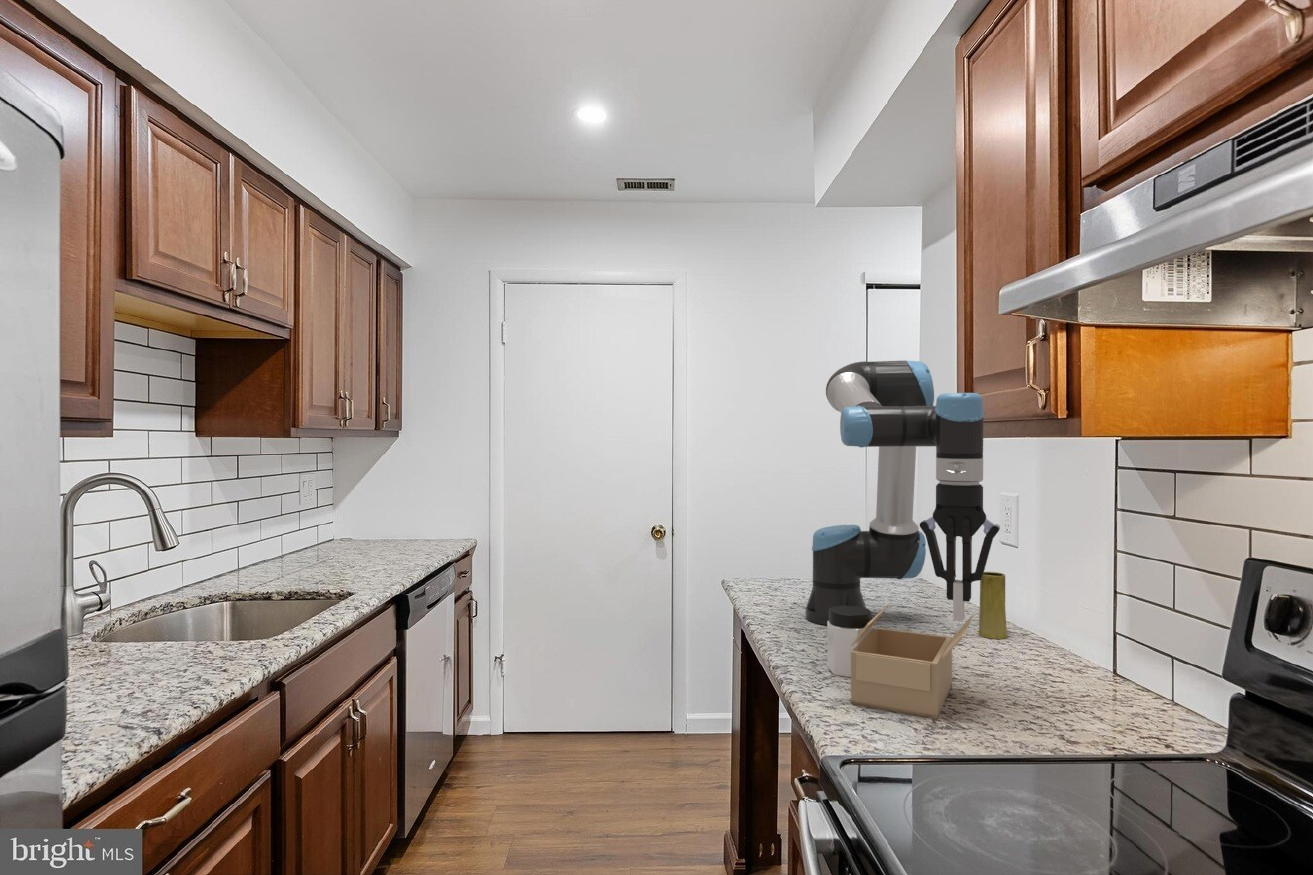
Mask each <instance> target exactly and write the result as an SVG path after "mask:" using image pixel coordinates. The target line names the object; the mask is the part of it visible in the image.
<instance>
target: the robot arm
mask: <svg viewBox="0 0 1313 875" xmlns="http://www.w3.org/2000/svg"><path fill="white" fill-rule="evenodd" d="M825 396H826V399H827V401H828V404H829V405H830V406H831V407H832V408H833V409H834V410H835V411H837V412H839V413H840V420H839V421H840V423H839V424H840V425H839V433H840V439H841V442H842V444H843V445H845V446H847V447H857V448H861V449H862V448H867V447H869V448H870V447H871V448H872V447H873V448H876V447H878V461H877V486H876V489H877V491H876V509H875V510H876V511H875V514H876V515H875V518H873V519H872V520H871V521H869V527H868V528H869V530H866V531H865V530H862V529H861V527H860V525H857V524H837V525H831V526H826V527H821V528H819V529H817V530H815V531H814V533H813V535H812V546H811V551H812V588H811V591H810V595H809V597H808V601H807V602H806V603H807V604H806V607H805V619H806V620H807V621H809V622H811V623H814V624H819V625H824V626H827V621H829V609H830V608H831V607H835V606H858V607H863V608H867V607H866V603H865V601H864V600H865V599H864V597H863V594H862V591H861V579H892V580H894V579H896V580H903V579H914V578H917V577H918V576H919V575H920V574H921V572H922V570H923V567H924V564H925V560H926V555H927V554H926V552H927V549H926V545H927V546H928V550H929V554H930V558H931V561H932V562H931V563H932V566H933V570H934V574H935V576H936V577H938V578H941V579H943V580H945V581H946V598H947V600H948V601H949V600H950V601H952V605H953V606H952V608H953V612H952V616H953V617H952V620H953V621H955V622H960V623H961V622H963V621H964V620H965V602H967V603H970V601H971V599H972V583H973V582H976V581H978V582H980V580H981V578H982V577H983V574H984V572H985V570H986V566H987V563H988V562H987V561H988V558H989V555H990V552H991V548H992V544H993V540H994V538H995V537H996V535H997V534H998V533H999V531H1000V529H1001V526H1000V524H997V523H996V524H995V523H993V522H991V521H990V520H989V519H988V518H987V515H986V512H985V510H984V486H983V485H982V484H980V482H983V481H984V420H985V419H984V418H985V414H986V413H985V411H984V400H983V397H982V395H981V394H979V393H977V392H949V393H941V394H939V395H938V396H937V397H936V401H935V388H934V382H933V378H932V373H931V370H930V369H929V367H928V365H927V364H926V363H924V362H923V361H915V360H907V359H906V360H883V361H882V360H881V361H880V360H879V361H865V360H864V361H857V362H856V361H855V362H852V363H850V364H847V365H844V366H842V367H841V368H839V369H838V370H836V371H835V372H834V373H833V374H831V375H830V377H829V379H828V381H827V383H826V387H825ZM935 402H936V403H935ZM934 403H935V405H934ZM917 447H935V449H936V450H935V457H936V458H935V480H937V481H939V482H938V483H937V484H936V485H935V509H934V511H933V512H932V516H931V517H929V518H927V519H924V520H922V521H921V522H919V525H918V524H917V523H916V522H915V521H914V520H913V519H914V518H913V517H914V499H915V479H916V477H915V476H916V460H917V458H916V457H917ZM936 525H937V526H938V528H940V529H941V531H942V533H943V534H944V535H945V542H946V544H945V545H946V547H945V548H946V550H945V551H946V553H945V554H946V556H945V557H946V560H945V562H946V563H945V564H946V565H945V566H946V567H945V568H946V569H945V568H944V563H943V559H942V554H941V551H940V548H939V544H938V539H937V535H936V532H935V529H936ZM982 526H983V534H985V536H984V539H983V542H982V546H981V549H980V552H979V555H978V560H977V563H976V566H975V567H976V568H975V571H974V572H973V571H972V570H973V568H972V567H973V566H972V564H973V563H972V562H973V558H972V552H973V551H972V550H973V548H972V547H973V545H972V543H973V536H975V535H976V533H977V532H978V531H979V529H981V527H982ZM919 527H920V528H919ZM919 529H921V530H922V531H919ZM923 533H924V534H923ZM957 537H960V538H961V544H962V547H961V548H962V551H961V553H962V563H961V564H962V569H961V570H962V580H961V579H956V578H957V574H956V568H957V567H956V566H957V565H956V560H957V558H956V557H957V556H956V553H957V550H956V548H957V545H956V544H957V542H956V541H957ZM926 541H927V542H926Z"/></svg>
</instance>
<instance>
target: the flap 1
mask: <svg viewBox="0 0 1313 875" xmlns="http://www.w3.org/2000/svg"><path fill="white" fill-rule="evenodd" d="M888 607H889V605H888V604H886V605H885V606H884V607H883V608H882V609H881V610H880V611H879V612H878V613H877V614H876V615H875V616H874V617H872V620H871V621H870V622H869V623H868V624H867V625H866V626H865V627H864V629H863V630H862V631H861V633H860V634H859V635H858V637H857V638H856V639H855V640H854V642H853V643H852V644H851V645H852V646H853V645H854V644H855V643H856V642H857V641H858V640H859V639H860V638H861V637H862V636H863V635H864V634H865V633H866V632H867V631H868V630H869V629H870V628H871V627H872V626H873V627H874V625H875V624H876V623H877V621H878V620H879V619H880V617H881V616H882V615H883V614H884V612H886V610H887V609H888Z"/></svg>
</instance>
